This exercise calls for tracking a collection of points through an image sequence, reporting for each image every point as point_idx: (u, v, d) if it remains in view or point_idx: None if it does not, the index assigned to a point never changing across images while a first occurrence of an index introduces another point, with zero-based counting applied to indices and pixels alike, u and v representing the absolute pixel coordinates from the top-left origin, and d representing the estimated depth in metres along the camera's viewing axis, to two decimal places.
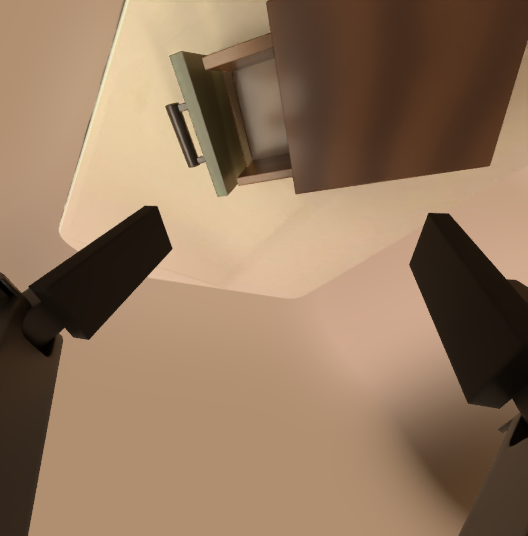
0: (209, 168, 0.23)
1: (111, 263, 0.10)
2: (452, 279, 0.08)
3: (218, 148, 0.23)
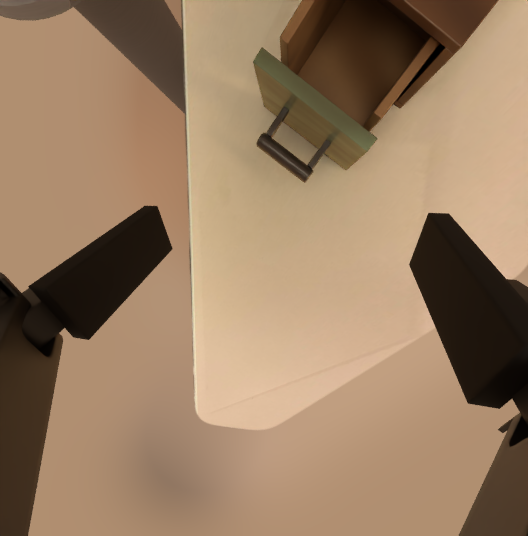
0: (340, 127, 0.19)
1: (111, 263, 0.10)
2: (452, 279, 0.08)
3: None
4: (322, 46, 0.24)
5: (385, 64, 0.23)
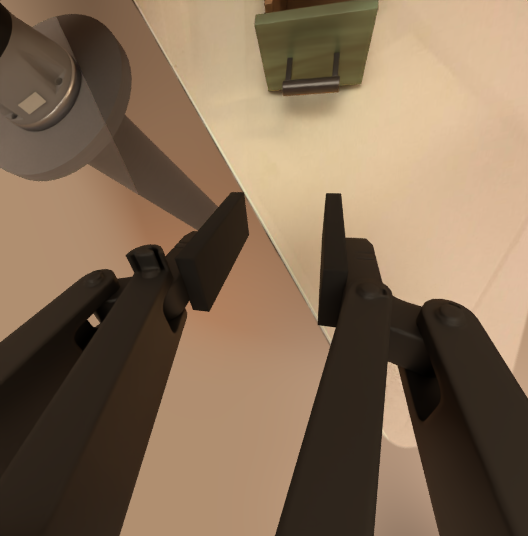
0: (344, 10, 0.22)
1: (221, 242, 0.11)
2: (323, 239, 0.10)
3: None
4: None
5: None
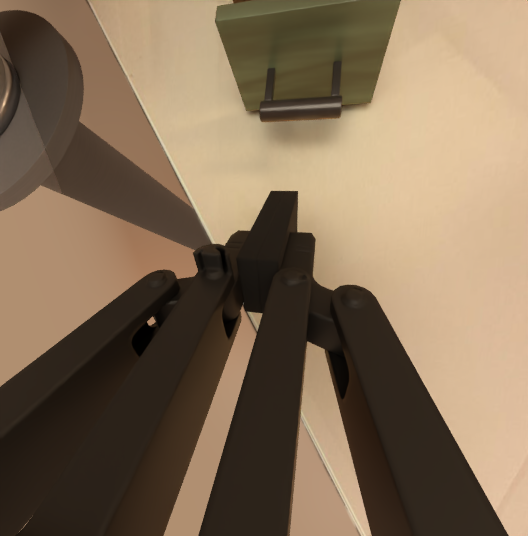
0: None
1: None
2: None
3: None
4: None
5: None
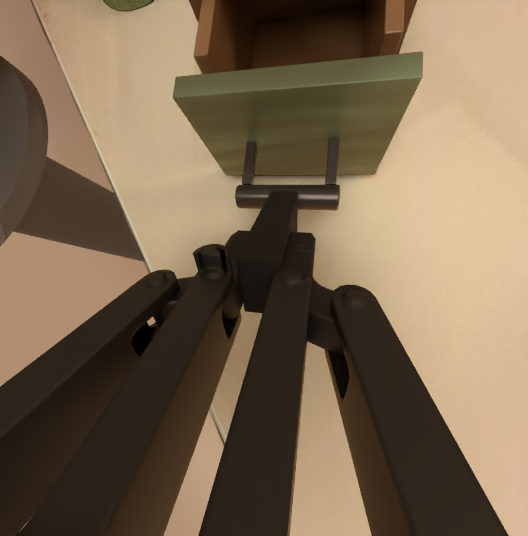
0: (349, 79, 0.10)
1: None
2: None
3: None
4: None
5: (336, 50, 0.18)
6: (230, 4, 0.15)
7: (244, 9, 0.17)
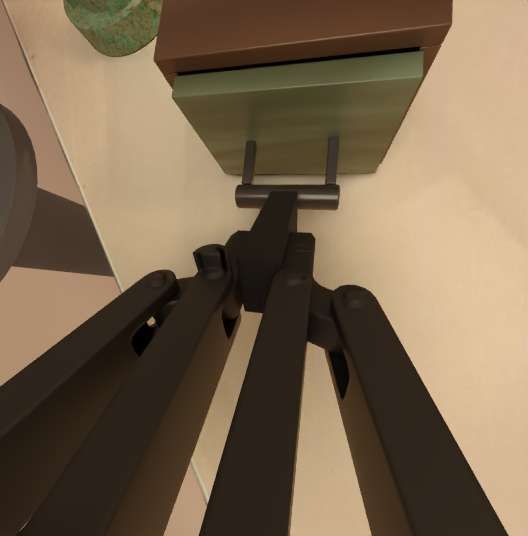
0: (349, 79, 0.10)
1: None
2: None
3: None
4: None
5: None
6: None
7: None
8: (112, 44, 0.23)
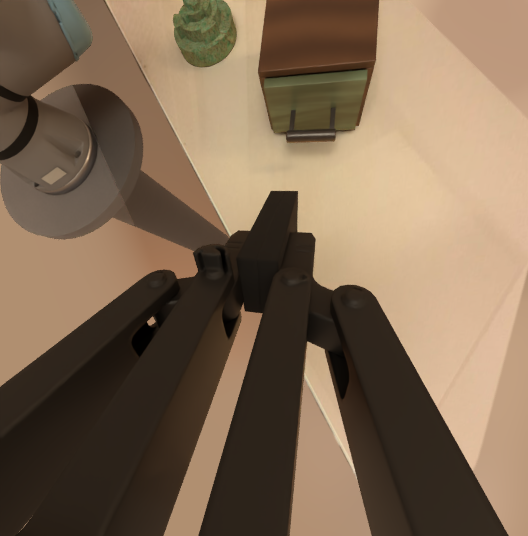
0: (339, 80, 0.26)
1: None
2: None
3: None
4: None
5: None
6: None
7: None
8: (202, 60, 0.40)
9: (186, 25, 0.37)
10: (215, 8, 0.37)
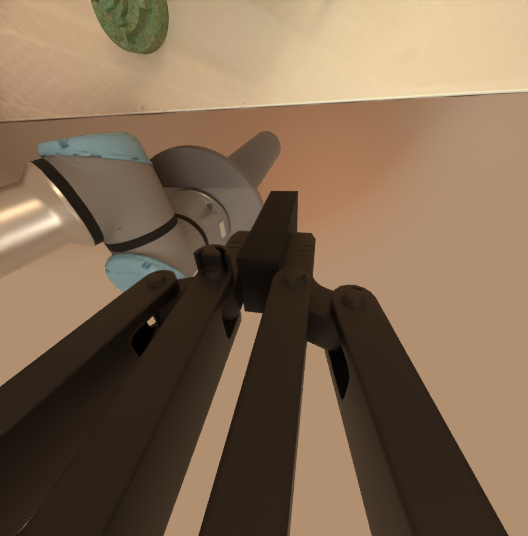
0: None
1: None
2: None
3: None
4: None
5: None
6: None
7: None
8: (163, 28, 0.34)
9: (128, 25, 0.33)
10: None
